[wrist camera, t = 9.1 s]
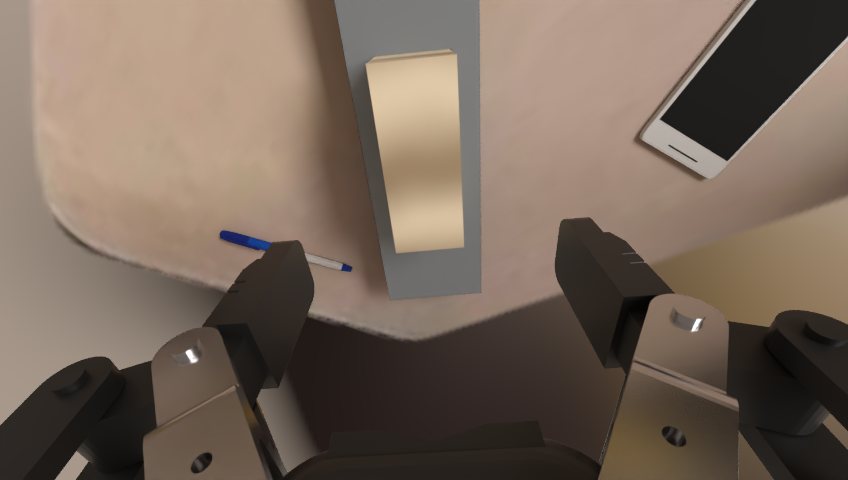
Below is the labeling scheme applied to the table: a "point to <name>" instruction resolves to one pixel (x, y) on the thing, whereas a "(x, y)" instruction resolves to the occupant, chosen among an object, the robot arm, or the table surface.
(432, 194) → the tan rectangular block
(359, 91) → the slotted rail
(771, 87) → the smartphone
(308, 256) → the ballpoint pen
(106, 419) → the robot arm
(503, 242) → the table surface
